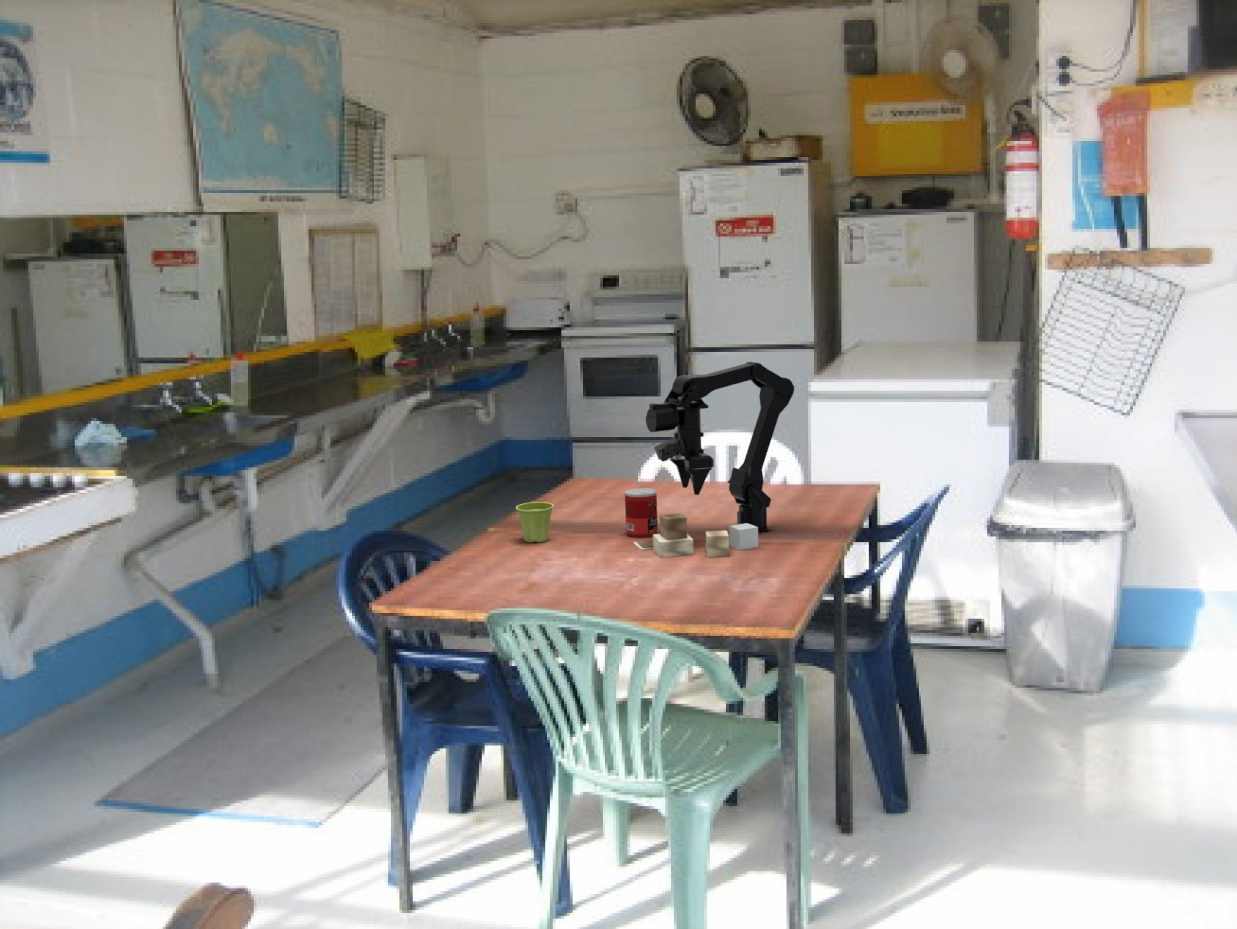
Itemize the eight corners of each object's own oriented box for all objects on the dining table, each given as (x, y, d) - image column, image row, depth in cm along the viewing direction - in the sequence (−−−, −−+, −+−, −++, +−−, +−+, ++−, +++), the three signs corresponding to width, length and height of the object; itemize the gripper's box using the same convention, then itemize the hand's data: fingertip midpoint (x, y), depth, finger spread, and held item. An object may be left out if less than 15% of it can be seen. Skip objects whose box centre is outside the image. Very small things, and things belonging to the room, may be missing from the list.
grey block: (747, 543, 320) (747, 523, 319) (758, 547, 316) (757, 527, 315) (729, 546, 318) (729, 525, 317) (740, 550, 314) (739, 530, 313)
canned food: (655, 538, 329) (653, 494, 327) (623, 537, 330) (621, 494, 328) (660, 530, 336) (658, 488, 334) (629, 530, 338) (627, 488, 336)
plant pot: (563, 538, 332) (561, 504, 330) (535, 546, 325) (533, 512, 323) (537, 533, 338) (535, 500, 336) (509, 541, 331) (508, 507, 330)
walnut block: (680, 533, 317) (679, 513, 316) (687, 538, 312) (686, 517, 311) (660, 535, 316) (659, 515, 315) (666, 540, 311) (666, 519, 310)
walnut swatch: (661, 540, 326) (661, 538, 326) (670, 547, 319) (670, 544, 319) (633, 543, 324) (633, 541, 324) (641, 550, 317) (641, 547, 317)
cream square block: (685, 548, 319) (685, 531, 318) (693, 556, 311) (693, 539, 311) (653, 550, 318) (652, 534, 317) (660, 558, 310) (659, 542, 309)
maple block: (727, 551, 314) (726, 530, 313) (729, 556, 309) (728, 535, 308) (706, 552, 314) (705, 531, 313) (707, 557, 309) (707, 536, 308)
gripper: (646, 425, 328) (648, 487, 331) (668, 436, 310) (670, 501, 313) (689, 421, 331) (691, 483, 333) (713, 432, 313) (715, 497, 316)
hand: (690, 491), depth 324 cm, fingers open, 9 cm apart
